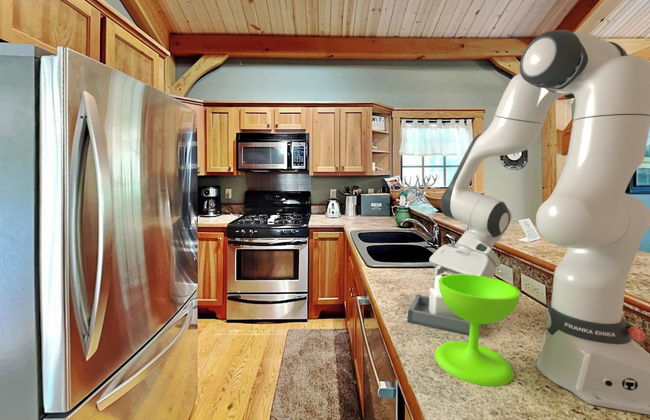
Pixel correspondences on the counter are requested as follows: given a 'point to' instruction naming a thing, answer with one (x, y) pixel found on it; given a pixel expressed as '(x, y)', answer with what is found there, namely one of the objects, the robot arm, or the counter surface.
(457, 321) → the parts tray
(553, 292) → the robot arm
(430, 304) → the medicine bottle
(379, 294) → the counter surface
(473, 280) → the wineglass
